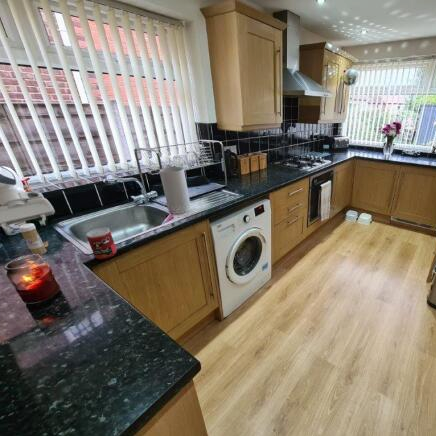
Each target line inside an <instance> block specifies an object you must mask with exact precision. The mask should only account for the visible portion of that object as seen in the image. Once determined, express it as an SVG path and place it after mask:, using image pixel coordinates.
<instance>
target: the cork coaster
mask: <svg viewBox="0 0 436 436" xmlns="http://www.w3.org/2000/svg"><path fill="white" fill-rule="evenodd" d="M42 242H43V244H44V247H45V248H49V241H48V240H46V241H42Z"/></svg>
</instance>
